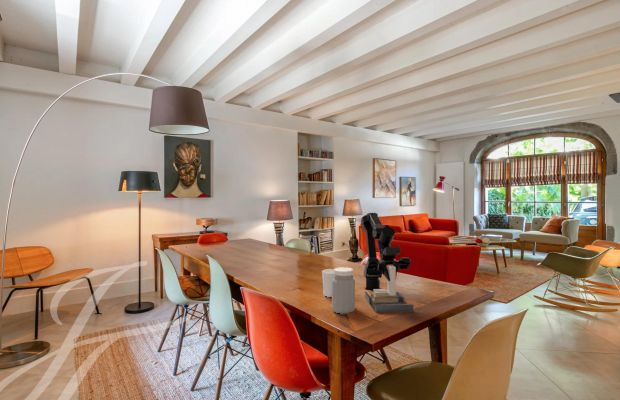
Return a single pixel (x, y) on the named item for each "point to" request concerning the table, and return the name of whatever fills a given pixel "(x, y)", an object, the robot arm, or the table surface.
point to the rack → (390, 305)
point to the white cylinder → (327, 281)
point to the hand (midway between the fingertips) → (392, 280)
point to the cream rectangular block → (391, 280)
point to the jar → (343, 290)
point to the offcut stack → (382, 296)
